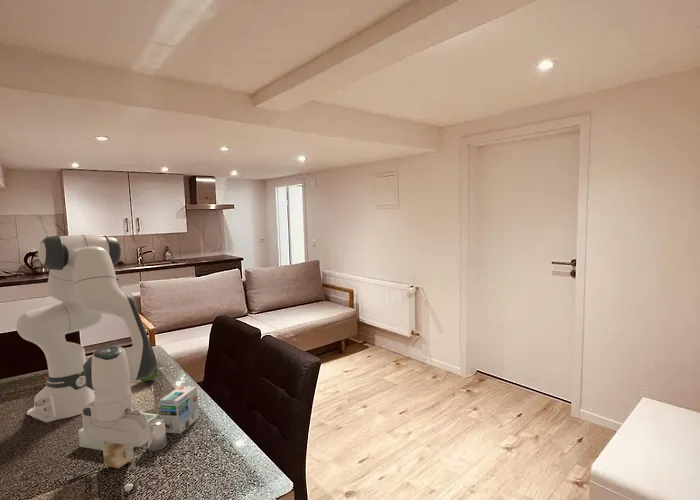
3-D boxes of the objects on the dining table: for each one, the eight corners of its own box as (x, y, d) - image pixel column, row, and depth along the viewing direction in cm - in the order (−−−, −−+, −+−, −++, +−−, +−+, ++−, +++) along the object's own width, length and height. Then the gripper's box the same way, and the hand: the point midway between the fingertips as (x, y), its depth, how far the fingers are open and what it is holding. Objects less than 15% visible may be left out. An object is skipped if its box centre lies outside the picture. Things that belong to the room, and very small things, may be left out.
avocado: (133, 384, 166) (130, 355, 165) (149, 376, 173) (146, 349, 172) (147, 386, 163) (144, 357, 162) (162, 378, 170) (160, 351, 169)
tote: (79, 446, 120) (77, 430, 120) (118, 423, 133) (116, 409, 133) (124, 454, 115) (123, 437, 114) (160, 429, 128) (159, 414, 127)
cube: (104, 465, 108) (102, 447, 108) (120, 454, 113) (118, 437, 112) (118, 468, 107) (116, 450, 106) (134, 457, 111) (132, 440, 111)
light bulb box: (180, 434, 124) (177, 400, 123) (161, 433, 126) (158, 400, 125) (200, 417, 135) (197, 386, 134) (182, 416, 136) (179, 385, 135)
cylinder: (144, 449, 117) (141, 426, 116) (157, 440, 121) (155, 418, 121) (157, 452, 115) (155, 428, 114) (170, 442, 120) (168, 420, 119)
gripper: (153, 405, 108) (158, 454, 109) (96, 398, 114) (101, 444, 116) (134, 417, 102) (139, 468, 103) (75, 408, 109) (81, 456, 110)
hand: (119, 455), depth 110 cm, fingers closed on cube, 5 cm apart
